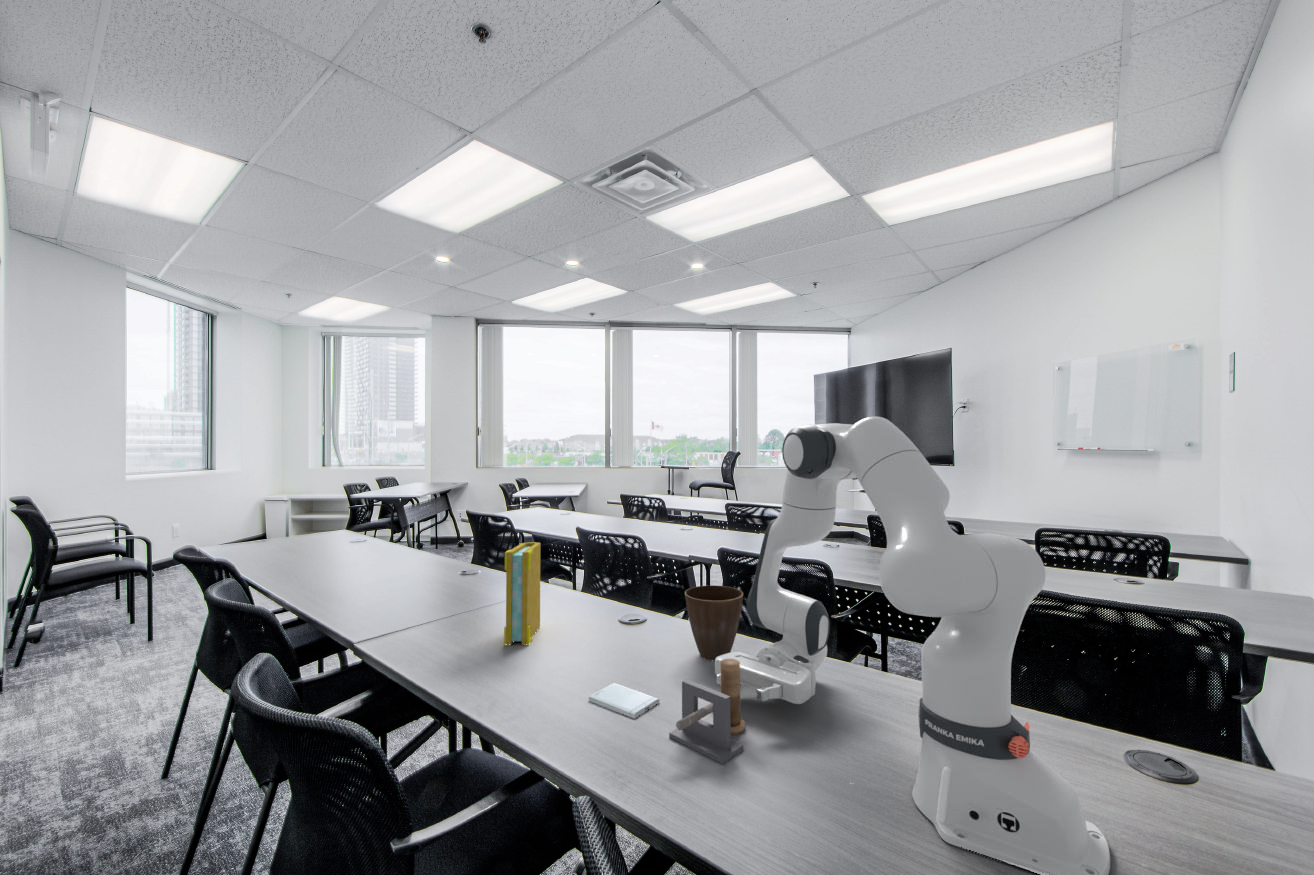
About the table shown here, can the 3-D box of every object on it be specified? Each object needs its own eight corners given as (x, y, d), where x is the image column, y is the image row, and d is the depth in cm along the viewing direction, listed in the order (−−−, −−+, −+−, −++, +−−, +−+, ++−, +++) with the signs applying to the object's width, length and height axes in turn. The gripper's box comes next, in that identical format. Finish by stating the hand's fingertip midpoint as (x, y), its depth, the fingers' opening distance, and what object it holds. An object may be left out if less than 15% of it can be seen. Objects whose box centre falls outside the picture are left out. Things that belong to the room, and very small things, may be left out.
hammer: (750, 727, 97) (749, 662, 98) (691, 766, 85) (690, 691, 85) (727, 717, 101) (727, 655, 101) (668, 753, 89) (667, 682, 89)
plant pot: (738, 670, 123) (737, 602, 124) (678, 662, 128) (677, 597, 128) (748, 648, 137) (747, 587, 138) (693, 642, 142) (693, 583, 143)
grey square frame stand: (743, 749, 90) (743, 693, 90) (722, 764, 85) (722, 705, 86) (690, 724, 98) (690, 673, 98) (669, 737, 94) (669, 683, 94)
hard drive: (588, 695, 108) (634, 713, 101) (614, 681, 115) (659, 697, 107) (588, 703, 108) (634, 721, 100) (614, 689, 114) (659, 705, 107)
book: (528, 645, 140) (529, 552, 141) (504, 645, 140) (504, 552, 141) (543, 625, 157) (543, 542, 158) (521, 625, 157) (521, 542, 158)
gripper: (736, 640, 117) (697, 656, 107) (821, 664, 102) (785, 687, 92) (736, 668, 116) (697, 688, 106) (822, 697, 102) (785, 723, 92)
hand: (739, 687), depth 99 cm, fingers open, 8 cm apart
